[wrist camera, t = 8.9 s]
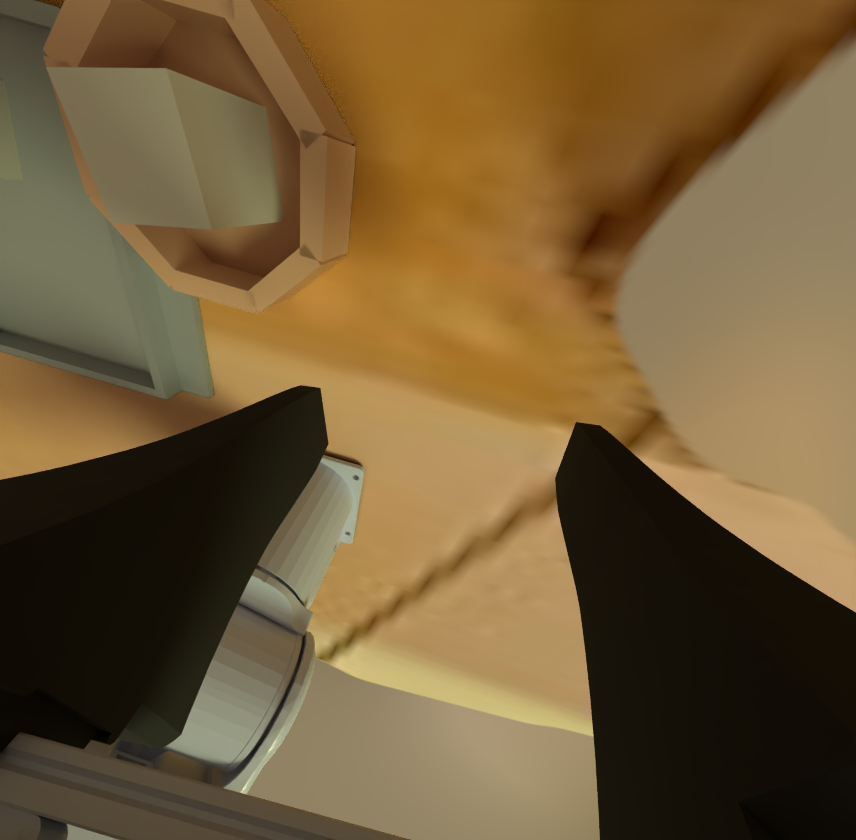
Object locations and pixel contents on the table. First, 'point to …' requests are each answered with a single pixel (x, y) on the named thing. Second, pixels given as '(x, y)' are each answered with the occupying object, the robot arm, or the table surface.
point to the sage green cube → (171, 148)
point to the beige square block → (7, 141)
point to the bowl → (288, 123)
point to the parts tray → (78, 250)
